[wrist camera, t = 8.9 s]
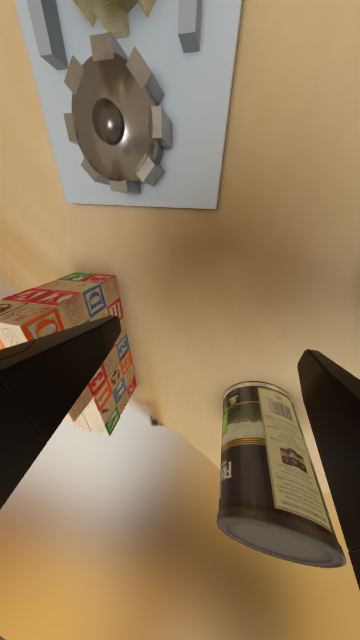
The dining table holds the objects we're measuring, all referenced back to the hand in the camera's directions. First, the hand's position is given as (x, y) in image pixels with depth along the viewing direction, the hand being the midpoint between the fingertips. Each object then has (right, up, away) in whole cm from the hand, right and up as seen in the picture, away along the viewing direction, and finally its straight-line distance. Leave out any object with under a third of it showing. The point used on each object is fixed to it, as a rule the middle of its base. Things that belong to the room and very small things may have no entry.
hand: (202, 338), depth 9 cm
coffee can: (+11, -12, +19) cm, 25 cm away
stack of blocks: (-12, -2, +20) cm, 23 cm away
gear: (-5, +15, +5) cm, 17 cm away
